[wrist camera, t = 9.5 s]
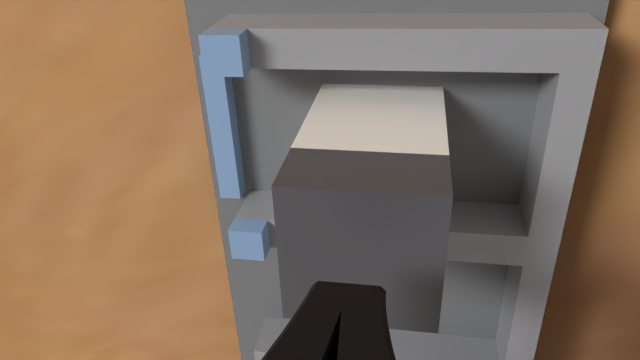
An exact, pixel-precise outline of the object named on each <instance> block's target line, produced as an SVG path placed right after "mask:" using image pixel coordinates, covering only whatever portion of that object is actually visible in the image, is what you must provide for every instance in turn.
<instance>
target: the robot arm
mask: <svg viewBox="0 0 640 360" xmlns="http://www.w3.org/2000/svg"><path fill="white" fill-rule="evenodd" d="M261 360H396V358H395V355H394V350H393V346H392V342H391V337H390V332H389V327H388V320H387V312H386V291H385V290H384V289H383V288H382V287H381V286H375V285H363V284H351V283H339V282H327V281H317V282H316V283H314V284H313V285H312V287H311V288H310V290H309V292H308V294H307V295H306V297H305V298H304V300H303V302H302V303H301V305H300V306H299V308H298V309H297V311H296V312H295V314H294V315H293V317H292V318H291V320H290V321H289V323H288V324H287V326H286V327H285V328H284V330H283V331H282V333H281V334H280V335H279V337H278V338H277V339H276V341H275V342H274V343H273V345H272V346H271V347H270V349H269V350H268V351H267V353H266V354H265V355H264V357H263V358H262V359H261Z"/></svg>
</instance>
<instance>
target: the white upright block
mask: <svg viewBox="0 0 640 360" xmlns="http://www.w3.org/2000/svg"><path fill="white" fill-rule="evenodd" d="M271 188H272V199H273V210H274V221H275V233H276V244H277V255H278V266H279V278H280V289H281V300H282V311H283V318H292V317H293V315H294V314H295V312H296V311H297V309H298V308H299V306H300V305H301V303H302V302H303V300H304V298H305V297H306V295H307V294H308V292H309V290H310V288H311V287H312V285H313V284H314V283H316V282H317V281H327V282H339V283H351V284H363V285H375V286H381V287H382V288H383V289H384V290H385V291H386V312H387V320H388V327H389V329H399V330H409V331H418V332H428V333H438V332H439V323H440V313H441V304H442V295H443V286H444V277H445V268H446V259H447V249H448V240H449V231H450V222H451V213H452V204H453V190H452V179H451V168H450V157H449V146H448V135H447V124H446V113H445V102H444V92H443V87H429V86H392V85H355V84H322V86H321V88H320V90H319V92H318V94H317V96H316V98H315V100H314V102H313V104H312V106H311V108H310V110H309V112H308V114H307V116H306V118H305V120H304V122H303V124H302V126H301V128H300V130H299V132H298V134H297V136H296V138H295V140H294V142H293V144H292V146H291V148H290V150H289V152H288V154H287V156H286V158H285V160H284V162H283V164H282V166H281V168H280V170H279V172H278V174H277V176H276V178H275V180H274V182H273V184H272V186H271Z"/></svg>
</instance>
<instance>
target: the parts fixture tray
mask: <svg viewBox="0 0 640 360" xmlns="http://www.w3.org/2000/svg"><path fill="white" fill-rule="evenodd" d="M184 1H185V8H186V14H187V20H188V26H189V33H190V39H191V45H192V52H193V58H194V64H195V70H196V77H197V83H198V89H199V95H200V102H201V108H202V114H203V120H204V127H205V133H206V139H207V146H208V152H209V158H210V164H211V171H212V177H213V183H214V189H215V196H216V202H217V208H218V214H219V221H220V227H221V233H222V239H223V246H224V252H225V258H226V265H227V271H228V277H229V283H230V290H231V296H232V302H233V308H234V315H235V321H236V327H237V333H238V340H239V346H240V352H241V359H242V360H261V359H262V358H263V357H264V355H265V354H266V353H267V351H268V350H269V349H270V347H271V346H272V345H273V343H274V342H275V341H276V339H277V338H278V337H279V335H280V334H281V333H282V331H283V330H284V328H285V327H286V326H287V324H288V323H289V321H290V320H291V318H283V311H282V300H281V289H280V278H279V266H278V255H277V244H276V233H275V221H274V210H273V199H272V188H271V186H272V184H273V182H274V180H275V178H276V176H277V174H278V172H279V170H280V168H281V166H282V164H283V162H284V160H285V158H286V156H287V154H288V152H289V150H290V148H291V146H292V144H293V142H294V140H295V138H296V136H297V134H298V132H299V130H300V128H301V126H302V124H303V122H304V120H305V118H306V116H307V114H308V112H309V110H310V108H311V106H312V104H313V102H314V100H315V98H316V96H317V94H318V92H319V90H320V88H321V86H322V84H355V85H392V86H429V87H443V92H444V102H445V113H446V124H447V135H448V146H449V157H450V168H451V179H452V190H453V204H452V213H451V222H450V231H449V240H448V249H447V259H446V268H445V277H444V286H443V295H442V304H441V313H440V323H439V332H438V333H428V332H418V331H409V330H399V329H389V332H390V337H391V342H392V346H393V350H394V355H395V358H396V360H534V355H535V351H536V347H537V342H538V338H539V334H540V329H541V325H542V320H543V316H544V312H545V307H546V303H547V299H548V294H549V290H550V285H551V281H552V277H553V272H554V268H555V264H556V259H557V255H558V250H559V246H560V242H561V237H562V233H563V229H564V224H565V220H566V215H567V211H568V207H569V202H570V198H571V193H572V189H573V185H574V180H575V176H576V172H577V167H578V163H579V158H580V154H581V150H582V145H583V141H584V137H585V132H586V128H587V123H588V119H589V115H590V110H591V106H592V102H593V97H594V93H595V88H596V84H597V80H598V75H599V71H600V67H601V62H602V58H603V53H604V49H605V45H606V40H607V36H608V32H609V29H608V28H607V27H606V26H605V25H604V23H605V18H606V14H607V9H608V5H609V0H184Z"/></svg>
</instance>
